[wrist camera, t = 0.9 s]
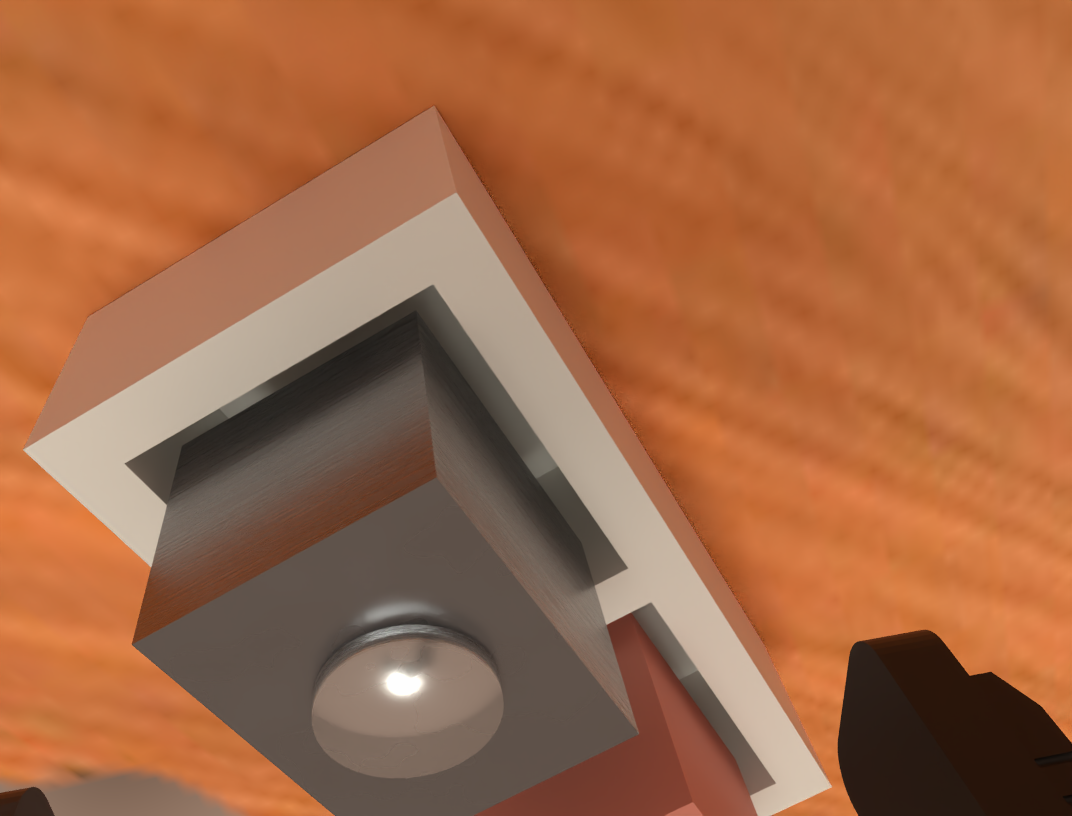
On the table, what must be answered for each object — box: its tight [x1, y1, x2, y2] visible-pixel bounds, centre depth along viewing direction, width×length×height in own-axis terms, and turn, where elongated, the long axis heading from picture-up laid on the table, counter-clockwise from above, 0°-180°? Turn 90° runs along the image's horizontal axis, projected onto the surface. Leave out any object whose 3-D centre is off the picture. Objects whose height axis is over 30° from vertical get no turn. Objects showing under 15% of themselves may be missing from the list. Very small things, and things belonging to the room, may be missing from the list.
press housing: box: [23, 106, 832, 816], centre depth 33 cm, size 12×26×7 cm, turn 29°
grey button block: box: [132, 311, 639, 816], centre depth 24 cm, size 7×9×8 cm
